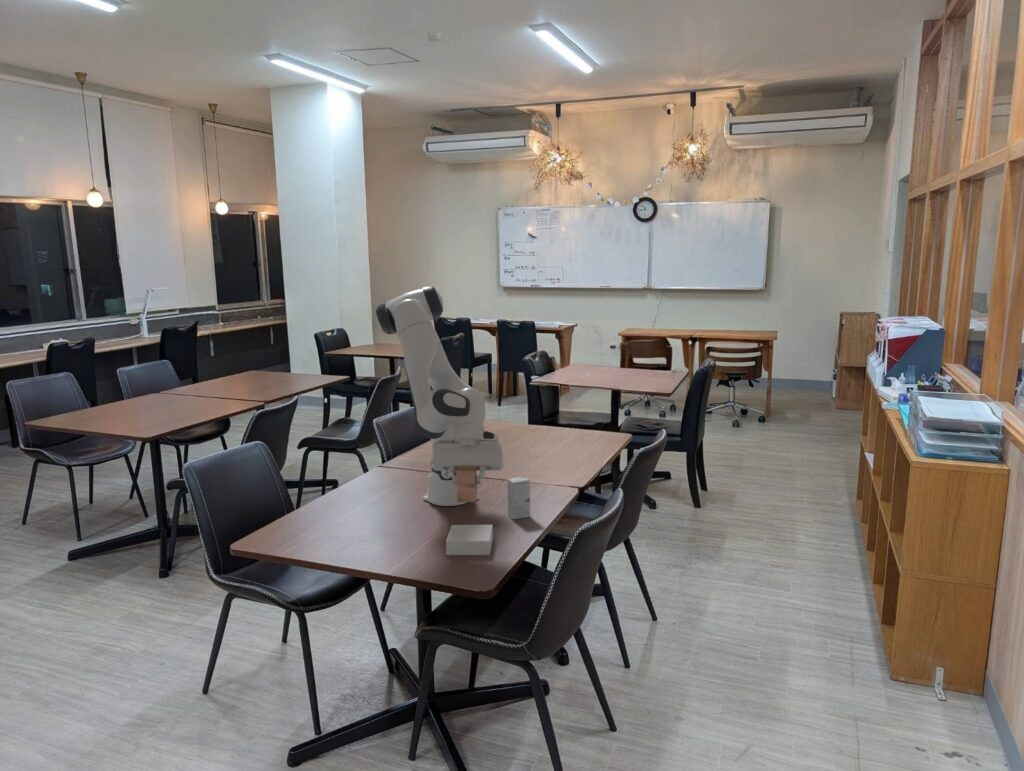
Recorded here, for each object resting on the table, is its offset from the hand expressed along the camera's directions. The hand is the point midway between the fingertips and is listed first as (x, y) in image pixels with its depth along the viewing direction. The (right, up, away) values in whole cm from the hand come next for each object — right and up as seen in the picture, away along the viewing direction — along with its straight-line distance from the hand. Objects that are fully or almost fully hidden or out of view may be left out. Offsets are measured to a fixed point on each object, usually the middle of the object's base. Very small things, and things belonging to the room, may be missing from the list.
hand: (466, 483), depth 194 cm
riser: (+1, -18, +4) cm, 19 cm away
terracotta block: (0, -5, +2) cm, 5 cm away
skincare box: (+15, -14, +26) cm, 33 cm away
